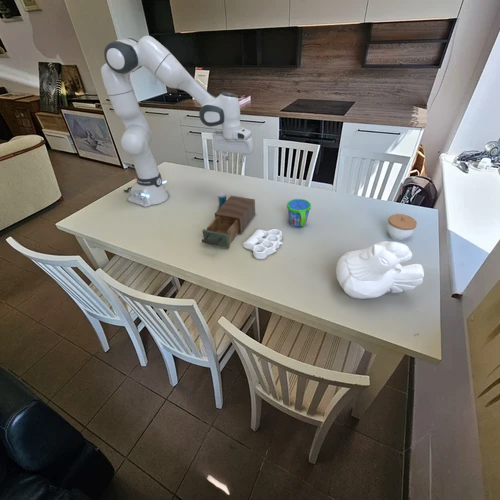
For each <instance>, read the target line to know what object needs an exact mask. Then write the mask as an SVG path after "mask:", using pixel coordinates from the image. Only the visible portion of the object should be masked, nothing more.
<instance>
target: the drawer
mask: <svg viewBox="0 0 500 500" xmlns="http://www.w3.org/2000/svg"><path fill="white" fill-rule="evenodd" d="M201 232H202V237H203V238H202V239H201V243H203V244H205V245H210V246H213V247H218V248H222V249H227V250H228V249H230V244H231V243H232V241H233V240H234V239H235V237H236V236H237V235H238V234H237V233H238V232H239V220H238V219H233V218H228V217H222V216H217V217H216V218H215V217H214V219H213V220H212V222H210V223H209V225H208V226H207V227H206V229H204V228H203V229H202V231H201Z"/></svg>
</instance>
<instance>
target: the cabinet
mask: <svg viewBox="0 0 500 500" xmlns="http://www.w3.org/2000/svg"><path fill="white" fill-rule="evenodd" d="M226 200H227V201H226V202H225V203H224V204H223V205H222V206H221V207H219V208H218V209H217V210H216V211H215V213H214V219H215V218H216V217H217V216H222V217H228V218H233V219H238V220H239V232H238V233H237V235H242V234H243V233H244V231H245V230H246V229H247V227H248V226H249V224H250V223H251V221H252V220H253V219H254V217H255V216H256V199H255V198H248V197H243V196H236V195H230V196H229V197H228V198H226Z"/></svg>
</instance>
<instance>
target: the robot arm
mask: <svg viewBox="0 0 500 500" xmlns="http://www.w3.org/2000/svg"><path fill="white" fill-rule="evenodd" d="M103 56H104V61H105V64H103V65H102V66H101V68H100V74H101V78H102V82H103V84H104V88H105V91H106V95H107V96H108V99H109V102H110V104H111V106H112V109H113V111H114V113H115V116H116V117H118V118H119V120H120V121H121V122H122V123H123V125H124V127H125V131H124V132H123V133H122V135H121V138H120V139H121V140H120V144H121V147H122V149H123V150H124V151H125V152H126V153H127V154H128V156H129V158H130V160H131V161H132V163H133V166H134V169H135V172H136V176H134V180H136V183H134V184H133V186H128V187H127V188H126V189H123V192H125V193H128V192H129V191H130V195H129V196H128V197H127V198H128V199H127V200H128V202H130V203H133V204H136V205H138V206H142V207H144V208H147V207H150V206H154V205H159V204H162V203H164V202H166V201H167V200H168V199H169V194H168V193H167V189H166V188H165V185H164V184H166V183H167V180H164V181H163V178H162V174H161V172H160V170H159V168H158V163H157V162H158V161H157V159H156V157H155V156H154V155H153V153H152V151H151V148H150V142H151V141H152V139H153V128H152V126H151V125H150V123H148V121H147V118H146V117H145V115H144V114H143V111H142V110H141V107H140V105H139V101H138V99H137V96H136V93H135V91H134V88H133V85H132V82H131V78H130V77H131V76H130V75H131V73H134V72H136V71H137V70H139V69H141V68H142V67H144V68H146V70H148V71H149V72H150V73H151V74H152V75H154V77H155V78H156V79H157V80H158V81H159V82H161V83H162V84H163V85H164V86H166V87H168V88H169V89H177V90H181V91H184V92H186V93H187V94H188V95H190V96H191V97H192V98H193V99H194V100H195V101H196V102H197V103H199V104H200V106H201V108H200V109H199V112H198V115H199V118H200V121H201V123H202V124H203V125H205V126H207V127H217V126H220V125H221V130H215V131H214V132H212V139H213V142H212V143H213V150H214V151H215V152H221V153H220V154H221V155H222V157H223V160H224V161H229V156H228V155H227V154H226V153H230V154H240V155H241V156H242V157H240V159H239V160H240V161H239V162H240V163H244V162H245V158H246V156H247V155H252V154H253V153H254V150H255V147H254V139H253V137H252V130H250V129H247V128H245V127H243V126H242V122H241V119H240V118H241V107H240V105H241V104H240V100H239V97H238V96H237V94H235V93H233V92H227V91H226V92H225V91H223V92H221V93H220V94H218V96H215V95H214V94H211V93H210V92H209V91H208V90H207V89H205V88H204V87H203V86H202V84H200V83H199V82H198V81H197V80H196V78H194V77H193V76H192V75H191V74H190V73H189V72H188V71H187V70H186V68H185V67H184V66H183V65H182V63H180V61H179V60H178V59H177V58H176V57H175V56H174V54H172V52H170V50H169V49H168V48H167V47H166V46H164V45H163V44H161V42H159V40H157V39H155V37H153V36H151V35H144V36H143V37H141V38H140V39H138V40H137V39H134V38H131V37H128V38H127V37H126V38H123V37H122V38H118V39H117V40H112V41H110V42H109V43H108V44H107V45H105V48H104V51H103Z"/></svg>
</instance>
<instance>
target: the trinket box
mask: <svg viewBox="0 0 500 500" xmlns="http://www.w3.org/2000/svg"><path fill="white" fill-rule="evenodd" d="M417 225H418V222H417V220H416V219H415V218H414V217H412V216H410V215H407V214H403V213H393V214H391V215H390V216H389V217H388V219H387V224H386V231H387V234H388V235H389V237H390V238H392V239H393V240H397V241H402V240H405V239H407V238H409V237H410V236H411V235H412V234H413V233H414V232H415V229H416V227H417Z"/></svg>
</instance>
